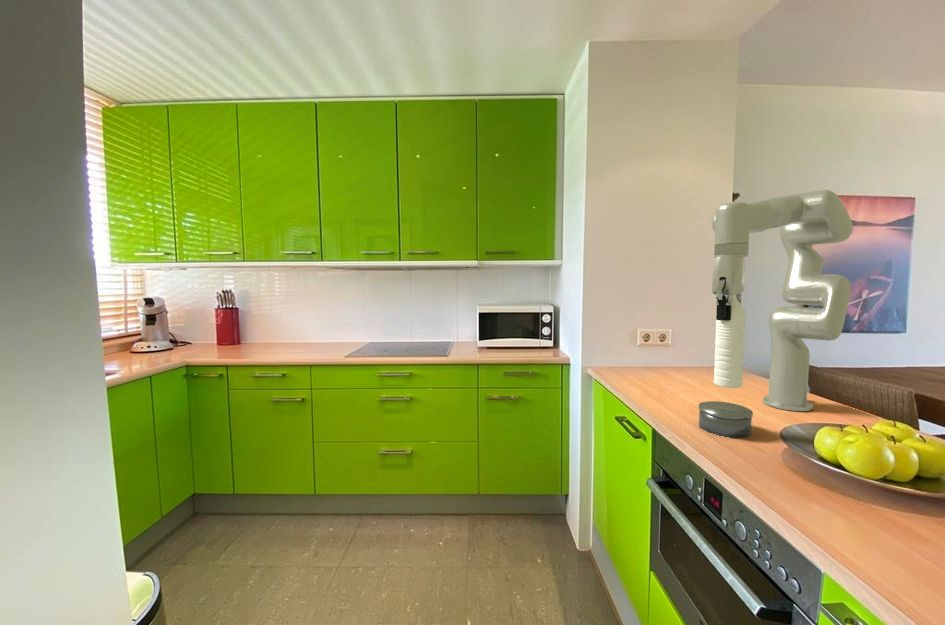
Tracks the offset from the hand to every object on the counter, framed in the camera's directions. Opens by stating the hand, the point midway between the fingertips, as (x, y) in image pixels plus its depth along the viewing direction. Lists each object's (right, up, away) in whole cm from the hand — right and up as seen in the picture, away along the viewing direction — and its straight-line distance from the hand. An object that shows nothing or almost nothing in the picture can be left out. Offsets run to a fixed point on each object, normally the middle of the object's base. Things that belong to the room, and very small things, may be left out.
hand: (728, 318), depth 104 cm
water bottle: (+1, -18, +3) cm, 18 cm away
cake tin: (+1, -31, +3) cm, 31 cm away
